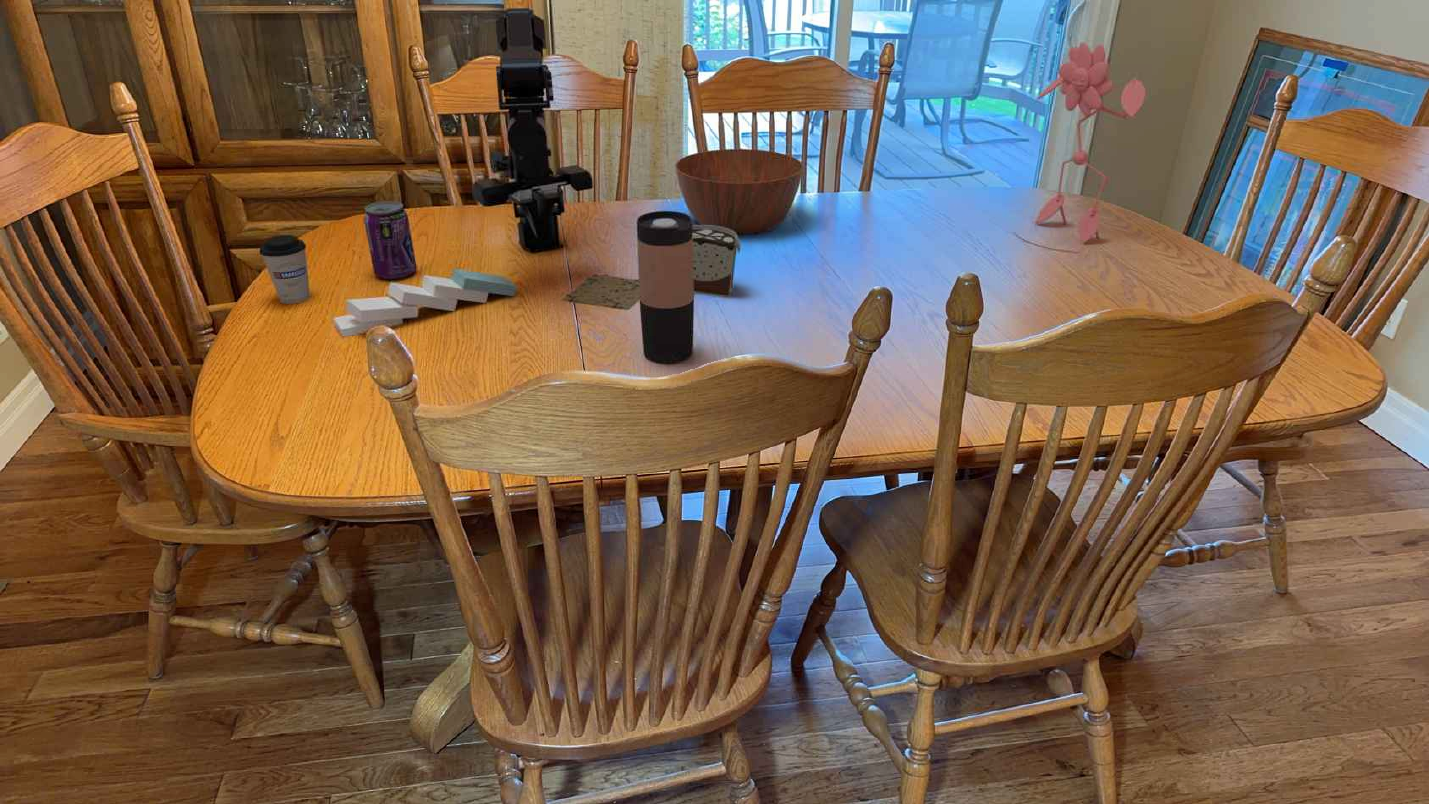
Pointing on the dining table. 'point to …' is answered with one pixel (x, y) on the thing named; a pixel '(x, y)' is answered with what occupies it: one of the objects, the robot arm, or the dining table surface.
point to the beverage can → (389, 240)
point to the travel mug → (666, 285)
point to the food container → (714, 259)
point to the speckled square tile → (606, 292)
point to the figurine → (1085, 88)
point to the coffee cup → (287, 267)
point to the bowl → (739, 187)
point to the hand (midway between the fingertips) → (538, 236)
